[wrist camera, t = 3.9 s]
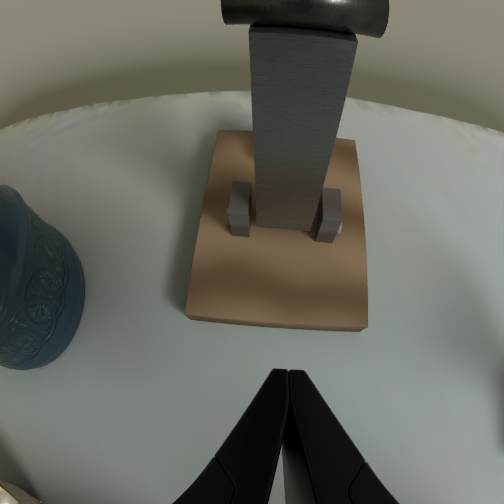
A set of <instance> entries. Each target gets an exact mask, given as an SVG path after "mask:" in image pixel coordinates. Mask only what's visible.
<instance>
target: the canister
mask: <svg viewBox="0 0 504 504" xmlns="http://www.w3.org/2000/svg"><path fill="white" fill-rule="evenodd" d="M84 297H85V282H84V275H83V270H82V266H81V263H80V261H79V258H78V256H77V254H76V253H75V251H74V250H73V248H72V246H71V245H70V243H69V242H68V240H67V239H66V238H65V237H64V236H63V235H62V234H61V233H60V232H59V231H58V230H57V229H56V228H54V227H53V226H51V225H49V224H47V223H46V222H45V221H43V220H42V219H41V218H40V217H39V216H38V215H37V214H36V213H35V212H34V211H33V210H32V209H31V208H29V207H28V206H27V205H26V204H25V203H24V200H23V199H22V197H21V196H20V194H19V193H18V192H17V191H16V190H14V189H13V188H11V187H9V186H6V185H0V365H1V366H3V367H6V368H10V369H16V370H29V369H33V368H39V367H42V366H45V365H47V364H49V363H51V362H52V361H54V360H55V359H56V358H57V357H58V356H59V355H60V354H61V353H62V352H63V351H64V350H65V349H66V347H67V346H68V345H69V343H70V342H71V340H72V338H73V336H74V334H75V332H76V330H77V327H78V325H79V322H80V319H81V315H82V311H83V306H84Z"/></svg>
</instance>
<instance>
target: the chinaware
mask: <svg viewBox="0 0 504 504" xmlns="http://www.w3.org/2000/svg"><path fill="white" fill-rule="evenodd" d="M0 504H42V501H39V500H37V499H36V498H34V497H32V496H30V495H29V494H28V492H25V491H24V490H22V489H20V488H19V487H17V486H15V485H13V484H10V483H7V482H3V481H0Z"/></svg>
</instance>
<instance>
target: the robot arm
mask: <svg viewBox="0 0 504 504" xmlns="http://www.w3.org/2000/svg"><path fill="white" fill-rule="evenodd" d="M281 445H282V458H283V472H284V487H285V502H286V504H399V503H398V501H397V500H396V499H395V498H394V497H393V496H392V495H391V494H390V492H389V491H388V490H387V489H386V488H385V487H384V485H383V484H382V483H381V481H380V480H379V479H378V477H377V476H376V475H375V473H374V472H373V471H372V469H371V468H370V466H369V465H368V463H367V462H365V459H364V458H363V456H362V455H361V453H360V452H359V450H358V449H357V448H356V446H355V445H354V443H353V442H352V440H351V439H350V437H349V436H348V434H347V433H346V431H345V430H344V428H343V427H342V426H341V424H340V423H339V421H338V420H337V418H336V417H335V415H334V414H333V412H332V411H331V409H330V408H329V406H328V405H327V403H326V402H325V400H324V399H323V397H322V396H321V394H320V393H319V391H318V390H317V388H316V387H315V385H314V384H313V382H312V381H311V379H310V378H309V376H308V375H307V373H306V372H305V371H304V370H289V372H288V370H287V369H273V370H272V371H271V372H270V374H269V375H268V377H267V379H266V380H265V382H264V383H263V385H262V386H261V388H260V389H259V391H258V393H257V394H256V396H255V397H254V399H253V400H252V402H251V403H250V405H249V406H248V408H247V409H246V411H245V412H244V414H243V415H242V417H241V418H240V420H239V421H238V423H237V424H236V426H235V427H234V429H233V430H232V432H231V433H230V434H229V436H228V437H227V439H226V440H225V442H224V443H223V444H222V446H221V447H220V449H219V450H218V451H217V453H216V454H215V457H214V458H212V459H211V461H210V462H209V464H208V465H207V466H206V468H205V469H204V470H203V471H202V473H201V474H200V475H199V476H198V478H197V479H196V480H195V481H194V483H193V484H192V485H191V486H190V487H189V488H188V489H187V490H186V491H185V492H184V493H183V494H182V495H181V496H180V497H179V498H178V499H177V500H176V501H175V502H174V503H173V504H268V501H269V497H270V493H271V489H272V485H273V481H274V477H275V472H276V468H277V463H278V459H279V454H280V450H281ZM364 462H365V463H364Z"/></svg>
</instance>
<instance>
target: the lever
mask: <svg viewBox="0 0 504 504" xmlns="http://www.w3.org/2000/svg"><path fill="white" fill-rule="evenodd" d="M221 9H222V16H223V20H224V23H225V24H226V25H231V24H232V25H233V24H251V25H250V29H249V49H250V50H249V51H250V72H251V96H252V120H253V144H254V168H255V194H256V220H257V227H262V228H276V229H290V230H303V231H310V230H311V227H312V224H313V220H314V217H315V213H316V210H317V206H318V203H319V199H320V195H321V192H322V188H323V185H324V181H325V177H326V173H327V170H328V166H329V162H330V158H331V155H332V151H333V147H334V143H335V139H336V135H337V131H338V127H339V123H340V119H341V115H342V111H343V107H344V102H345V98H346V94H347V89H348V85H349V81H350V76H351V72H352V67H353V63H354V58H355V53H356V49H357V44H358V41H357V38H356V35H355V34H360V35H365V36H371V37H376V38H381V37H382V35H383V34H384V32H385V30H386V27H387V23H388V17H389V0H221Z"/></svg>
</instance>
